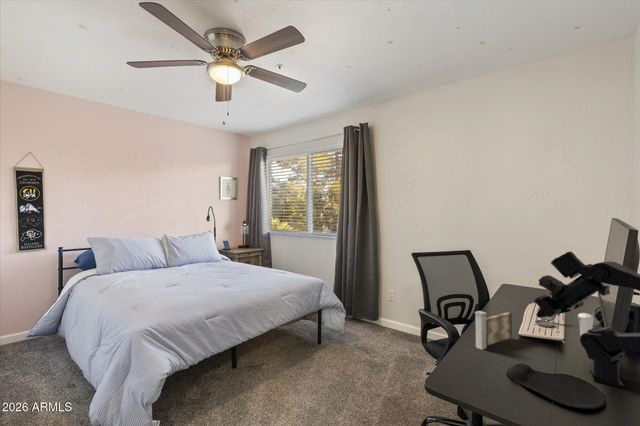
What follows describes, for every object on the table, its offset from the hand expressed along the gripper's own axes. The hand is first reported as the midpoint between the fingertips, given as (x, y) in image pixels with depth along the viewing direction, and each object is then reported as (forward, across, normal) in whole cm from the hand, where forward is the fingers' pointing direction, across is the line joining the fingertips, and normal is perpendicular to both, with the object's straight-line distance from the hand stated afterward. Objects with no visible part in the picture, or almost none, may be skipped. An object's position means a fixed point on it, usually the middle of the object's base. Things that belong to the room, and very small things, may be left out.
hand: (539, 315), depth 105 cm
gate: (+18, +3, 0) cm, 19 cm away
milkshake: (+10, -32, +10) cm, 35 cm away
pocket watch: (+20, -33, -1) cm, 39 cm away
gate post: (+19, +12, 0) cm, 23 cm away
